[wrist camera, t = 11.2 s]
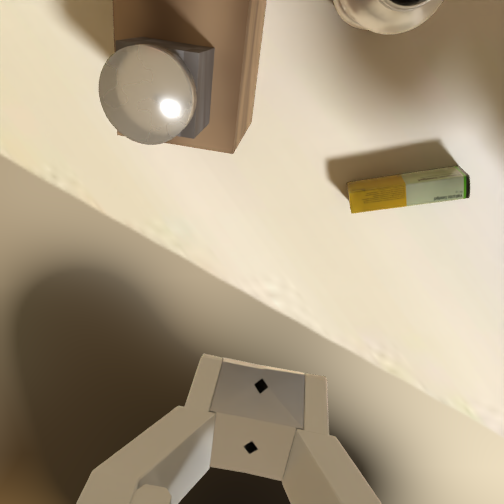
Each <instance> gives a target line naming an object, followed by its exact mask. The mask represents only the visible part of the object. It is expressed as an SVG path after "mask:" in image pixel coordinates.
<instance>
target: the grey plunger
mask: <svg viewBox="0 0 504 504" xmlns="http://www.w3.org/2000/svg"><path fill="white" fill-rule="evenodd" d="M99 97H100V101H101V105H102V107H103V110H104V112H105V114H106V116H107V118H108V119H109V121H110V122H111V124H112V125H113V126H114V127H115V128H116V129H117V130H118V131H119V132H120V133H121V134H123V135H124V136H126V137H127V138H129V139H131V140H133V141H135V142H138V143H142V144H148V145H155V144H161V143H164V142H167V141H169V140H171V139H172V138H174V137H175V136H177V135H178V134H179V133H180V132H181V131H182V130H183V129H184V128H185V127H186V126H187V125H188V124H189V122H190V121H191V119H192V117H193V115H194V112H195V108H196V102H197V93H196V87H195V83H194V80H193V77H192V75H191V73H190V71H189V69H188V67H187V66H186V64H185V63H184V62H183V61H182V60H181V59H180V58H179V57H178V56H177V55H176V54H175V53H173V52H172V51H170V50H169V49H167V48H165V47H162V46H160V45H155V44H138V45H132V46H128V47H125V48H122V49H120V50H118V51H117V52H115V53H114V54H113V55H112V56H111V57H110V58H109V59H108V60H107V61H106V63H105V65H104V66H103V69H102V71H101V75H100V79H99Z"/></svg>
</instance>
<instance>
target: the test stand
mask: <svg viewBox="0 0 504 504" xmlns="http://www.w3.org/2000/svg"><path fill="white" fill-rule="evenodd" d="M265 9H266V0H113V17H114V47H115V52H117V51H118V50H120V49H122V48H125V47H128V46H132V45H138V44H155V45H160V46H162V47H165V48H167V49H169V50H170V51H172V52H173V53H175V54H176V55H177V56H178V57H179V58H180V59H181V60H182V61H183V62H184V63H185V64H186V66H187V67H188V69H189V71H190V73H191V75H192V77H193V80H194V83H195V87H196V93H197V102H196V108H195V112H194V115H193V117H192V119H191V121H190V122H189V124H188V125H187V126H186V127H185V128H184V129H183V130H182V131H181V132H180V133H179V134H178V135H177V136H175V137H174V138H172V139H171V140H169V141H167V142H164V143H170V144H176V145H182V146H188V147H194V148H200V149H206V150H212V151H218V152H224V153H230V154H233V153H234V151H235V149H236V148H237V146H238V144H239V143H240V141H241V139H242V138H243V136H244V134H245V132H246V131H247V129H248V127H249V126H250V124H251V122H252V114H253V106H254V97H255V89H256V81H257V73H258V65H259V57H260V49H261V41H262V33H263V25H264V17H265ZM117 135H121V136H124V135H123V134H121V133H120V132H119V131H118V130H117Z"/></svg>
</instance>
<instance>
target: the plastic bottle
mask: <svg viewBox="0 0 504 504" xmlns="http://www.w3.org/2000/svg"><path fill="white" fill-rule="evenodd" d="M333 2H334V5H335V8H336V10H337V12H338V14H339V16H340V17H341V18H342V19H343V20H344V21H345V22H346V23H348V24H349V25H350V26H353V27H355V28H358V29H363V30H370V31H372V32H375V33H379V34H384V35H392V34H399V33H404V32H407V31H409V30H412V29H414V28H416V27H418V26H419V25H421V24H422V23H424V22H425V21H426V20H427V19H428V18H430V17H431V16H432V15H433V14H434V13H435V11H436V10H437V9H438V8H439V6H440V5H441V4H442V2H443V0H333Z"/></svg>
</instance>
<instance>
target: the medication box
mask: <svg viewBox="0 0 504 504" xmlns="http://www.w3.org/2000/svg"><path fill="white" fill-rule="evenodd" d="M347 188H348V197H349V203H350V209H351V213H360V212H367V211H375V210H382V209H390V208H398V207H405V206H413V205H420V204H427V203H435V202H443V201H450V200H458V199H465V198H469V196H470V177H469V175H468V174H467V173H466V172H465V171H464V170H463V169H462V168H461V167H460V166H459V165H458V166H453V167H446V168H439V169H432V170H425V171H418V172H411V173H405V174H398V175H391V176H385V177H378V178H371V179H365V180H358V181H352V182H348V183H347Z"/></svg>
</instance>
